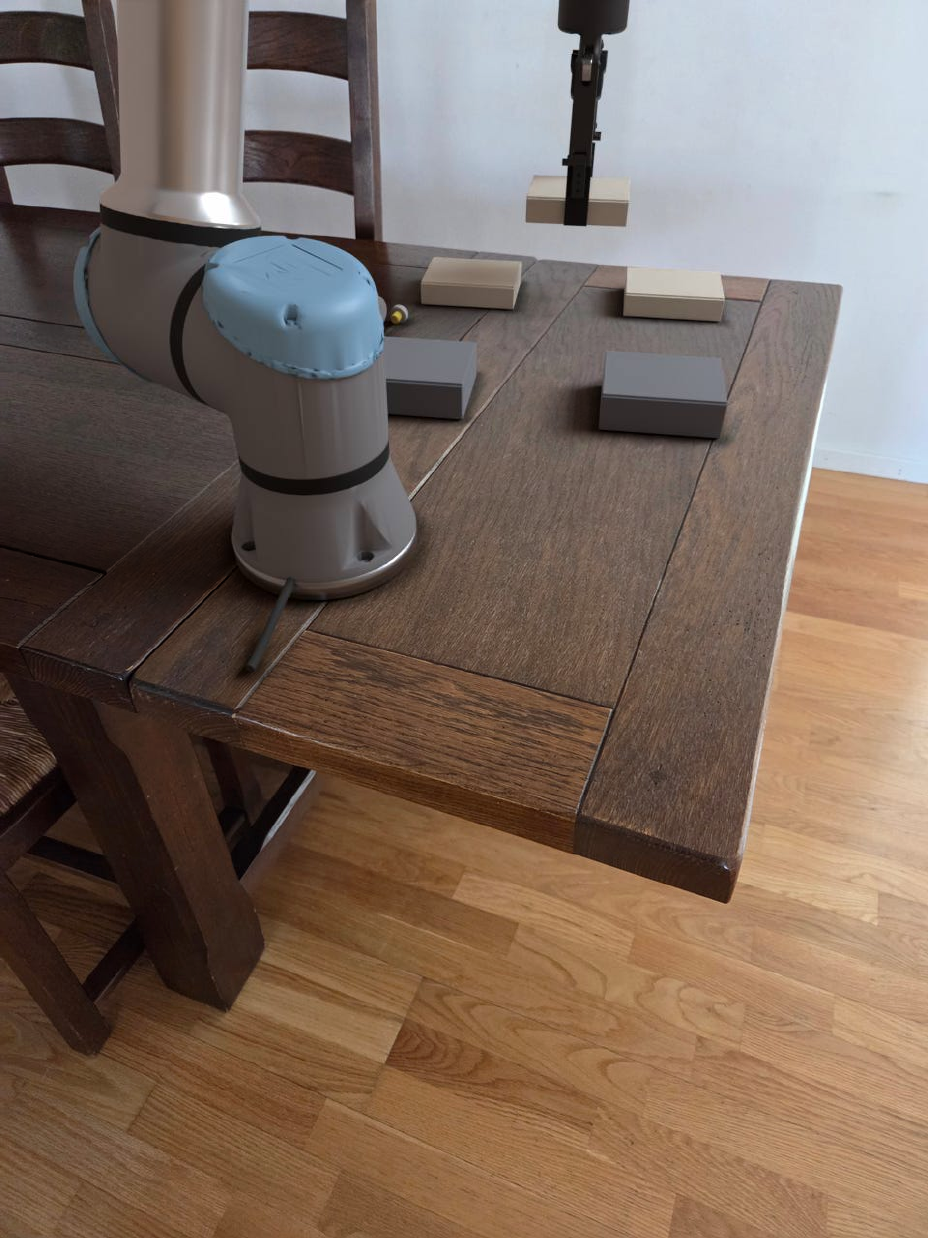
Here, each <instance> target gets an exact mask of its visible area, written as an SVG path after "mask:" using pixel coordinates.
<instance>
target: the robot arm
mask: <svg viewBox="0 0 928 1238" xmlns="http://www.w3.org/2000/svg"><path fill="white" fill-rule="evenodd" d="M630 2H631V1H630V0H558V9H557V28H558V30H559V31H560V32H562V33H565V34H569V35H578V36H579V45H578V49H572V53H571V56H570V73H571V79H570V80H571V81H570V98H571V100H572V108H571V120H570V132H569V133H570V134H569V135H570V136H569V146H568V154H567V157H566V158H564V157H563V158H562V159H561V166H562V167H566V169H567V170H566V176H567V182H566V197H565V211H564V224H563V226H565V227H567V226H568V227H587V226H588V225H587V215H588V203H589V192H590V180H591V177H594V176H593V174H594V165H595V163H594V162H595V153H596V142H601V140H602V131H596V130H597V128H598V123H597V120H598V119H597V118H598V106H599V101H600V100H601V98H602V94H603V90H604V89H603V88H604V81H605V80H604V79H605V74H606V72H607V67H608V57H609V49H604V48H605V42H604V38H603V35H606V36H607V35H608V36H611V35H612V36H613V35H618V34H622V33H623V32H624V31H625V30H627V27H628V22H629V12H630V11H629V10H630ZM249 16H250V0H116V33H117V34H116V37H117V73H118V74H117V75H118V79H117V80H118V111H119V112H118V114H119V117H118V119H119V151H120V152H119V157H120V174H119V177H118V178H117V180H116V181H115V182H113V184H111V185H110V186H109V187H108V188H107V189H106V190H105V191H104V192H102V194H101V195H99V203H98V204H99V227H97V228H96V229H95V230H94V231H93V232H92V233H91V234H90V235H89V237H88V239H89V241H88V243H87V244H85V246H83V247H80V250H79V252H78V255H77V258H76V261H75V265H74V268H73V269H74V270H73V279H72V280H73V281H72V282H73V284H72V285H73V286H72V287H73V296H74V302H75V306H76V310H77V313H78V316H79V319H80V322H81V323H82V326H83V327H84V329H85V331H86V332H87V334H88V336H89V338H90V339H91V340H92V342H93V343H94V344H95V345H96V346H97V347H98V349H100V351H101V352H102V353H103V354H105V355H106V356H107V357H108V358H109V359H111V360H112V361H114V362H115V363H117V364H119V365H120V366H122V367H124V368H125V369H126V370H127V371H128V372H129V373H131V374H133V375H134V376H136V377H138V378H140V379H141V380H144V381H146V382H148V383H153V384H156V385H160V386H162V387H164V388H167V389H169V390H171V391H173V392H176V393H178V394H180V395H182V396H184V397H187V398H188V399H191V400H193V401H195V402H197V403H199V404H202V405H204V406H207V407H209V408H211V409H213V410H215V411H217V412H220V413H222V414H223V415H226V416H227V417H228V419H229V420H230V423H231V424H230V425H231V429H232V434H233V438H234V439H233V440H234V443H235V448H236V452H237V458H238V463H239V467H240V479H239V480H240V482H239V487H238V492H237V500H236V505H235V510H234V516H233V522H232V528H231V529H232V530H231V544H232V549H233V552H234V557H235V561H236V564H237V567H238V568H239V571H241V574H242V575H243V576H244V577H245V578H246V579H247V580H249V581H250V582H251V583H252V584H253V585H255V586H257V587H258V588H260V589H262V590H264V591H266V592H269V593H271V594H273V595H277V596H278V597H277V599H276V601H275V603H274V606H273V608H272V610H271V612H270V614H269V616H268V619H267V621H266V623H265V626H264V628H263V630H262V632H261V634H260V636H259V639H258V641H257V643H256V645H255V647H254V649H253V652H252V654H251V656H250V658H249V660H248V662H247V663H246V665H245V666H244V669H245V670H246V671H247V672H248V673H254V672H255V670H256V668H257V667H258V666H259V664H260V661H261V660H262V658H263V656H264V654H265V652H266V649H267V647H268V645H269V643H270V640H271V638H272V636H273V634H274V631H275V629H276V626H277V624H278V622H279V620H280V617H281V615H282V613H283V611H284V609H285V606H286V604H287V602H288V600H289V598H290V599H296V600H304V601H305V600H306V601H323V600H324V601H325V600H334V599H343V598H347V597H352V596H356V595H359V594H361V593H362V594H363V593H365V592H368V591H370V590H373V589H375V588H377V587H379V586H382V585H383V584H385V583H387V582H388V581H390V580H391V579H393V578H394V577H396V576H397V575H398V574H399V573H401V572H402V571H403V570H404V569H405V568H406V567H407V565H409V563H410V562H411V560H412V558H413V556H414V554H415V553H416V550H417V546H418V531H417V530H418V529H417V528H418V525H417V515H416V513H415V510H414V508H413V505H412V502H411V501H410V499H409V496H408V494H407V491H406V490H405V487H404V486H403V483H402V481H401V479H400V477H399V474H398V471H397V470H396V467H395V465H394V463H393V461H392V459H391V450H390V439H389V414H388V413H387V393H386V372H385V352H384V336H385V332H384V331H385V330H384V329H385V324H384V322H383V321H382V317H381V315H380V311H379V303H378V296H379V294H378V291H377V287H376V283H375V281H374V279H373V277H372V275H371V273H370V271H369V270H368V269H367V267H366V266H365V265H364V264H363V263H362V262H361V261H359V260H358V259H357V258H356V257H354V256H353V255H352V254H350V253H348V252H347V251H346V250H343V249H341V248H340V247H337V246H334V245H333V244H330V243H328V242H325V241H321V240H317V239H312V238H307V237H298V238H295V239H290V238H288V237H287V236H285V235H262V219H261V218H260V217H259V216H258V214H257V212H256V211H255V210H254V209H253V208H252V206H251V205H250V203H248V201H247V200H246V198H245V195H244V193H243V187H244V186H243V185H244V184H243V182H244V157H245V156H244V155H245V153H244V152H245V130H246V128H245V127H246V101H247V100H246V99H247V75H248V73H247V70H248V45H249V44H248V43H249V21H250V20H249V19H250V17H249Z"/></svg>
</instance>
